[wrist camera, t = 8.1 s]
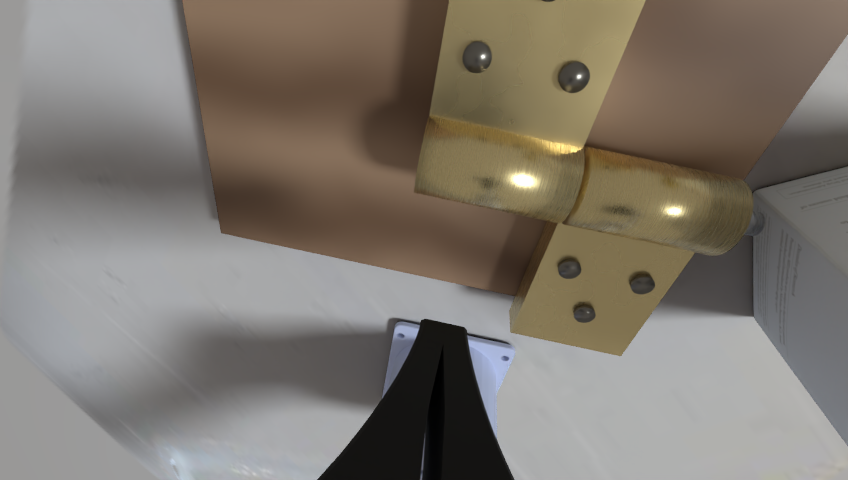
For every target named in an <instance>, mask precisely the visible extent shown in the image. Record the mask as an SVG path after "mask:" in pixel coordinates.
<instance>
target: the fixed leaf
mask: <svg viewBox="0 0 848 480" xmlns="http://www.w3.org/2000/svg"><path fill="white" fill-rule="evenodd" d="M583 150H584V154H585V164H584V173H583V178H582V183H581V186H580V190H579V193H578V196H577V199H576V201H575V203H574V206H573V208H572V210H571V212H570V213H569V215H568V216H567V218H566V219H565V220H564V221H563V222H562V223H554V222H549V221H546V224H545V226H544V228H543V231H542V233H541V236H540V238H539V241H538V243H537V245H536V248H535V250H534V253H533V255H532V257H531V260H530V262H529V265H528V267H527V270H526V272H525V274H524V277H523V279H522V282H521V284H520V286H519V289H518V291H517V294H516V296H515V298H514V301H513V303H512V306H511V308H510V311H509V314H510V332H511V333H516V334H521V335H525V336H530V337H534V338H539V339H544V340H548V341H553V342H558V343H562V344H567V345H571V346H576V347H581V348H585V349H590V350H595V351H599V352H604V353H608V354H613V355H618V356H621V355H622V354H623V352H624V351H625V350H626V348H627V347H628V345H629V344H630V343H631V341H632V340H633V338H634V337H635V336H636V334H637V333H638V331H639V330H640V329H641V327H642V326H643V324H644V323H645V322H646V320H647V319H648V318H649V316H650V315H651V313H652V312H653V311H654V309H655V308H656V306H657V305H658V304H659V302H660V301H661V299H662V298H663V297H664V295H665V294H666V292H667V291H668V290H669V288H670V287H671V285H672V284H673V283H674V281H675V280H676V279H677V277H678V276H679V274H680V273H681V272H682V270H683V269H684V267H685V266H686V265H687V263H688V262H689V260H690V259H691V258H692V256H693V255H694V253H700V254H705V255H710V256H717V255H721V254H724V253H726V252H727V251H729V250H730V249H732V248H733V247H734V246H735V245H736V244H737V243H738V242H739V241H740V240H741V238H742V237H743V235H747V236H756V235H758V234H759V233H761V231H762V230H763V229H764V226H765V223H766V219H765V216H764V214H763V213H761V212H757V211H753V195H752V192H751V189H750V187H749V186H748V184H747V183H746V182H745V181H743V180H742V179H739V178H735V177H730V176H725V175H720V174H716V173H711V172H706V171H701V170H696V169H692V168H687V167H682V166H677V165H673V164H668V163H663V162H658V161H653V160H649V159H644V158H639V157H634V156H630V155H625V154H620V153H615V152H610V151H606V150H601V149H596V148H591V147H587V146H585V147H583Z"/></svg>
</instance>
